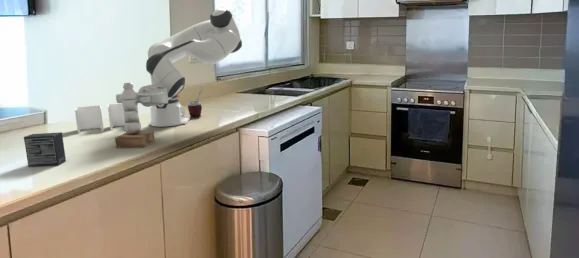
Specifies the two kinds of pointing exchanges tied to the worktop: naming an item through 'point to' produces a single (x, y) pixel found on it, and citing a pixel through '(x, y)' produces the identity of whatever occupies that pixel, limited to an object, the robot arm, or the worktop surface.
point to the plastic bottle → (130, 109)
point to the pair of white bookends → (98, 116)
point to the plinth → (135, 140)
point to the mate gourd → (195, 108)
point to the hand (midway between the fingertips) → (130, 100)
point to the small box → (44, 149)
